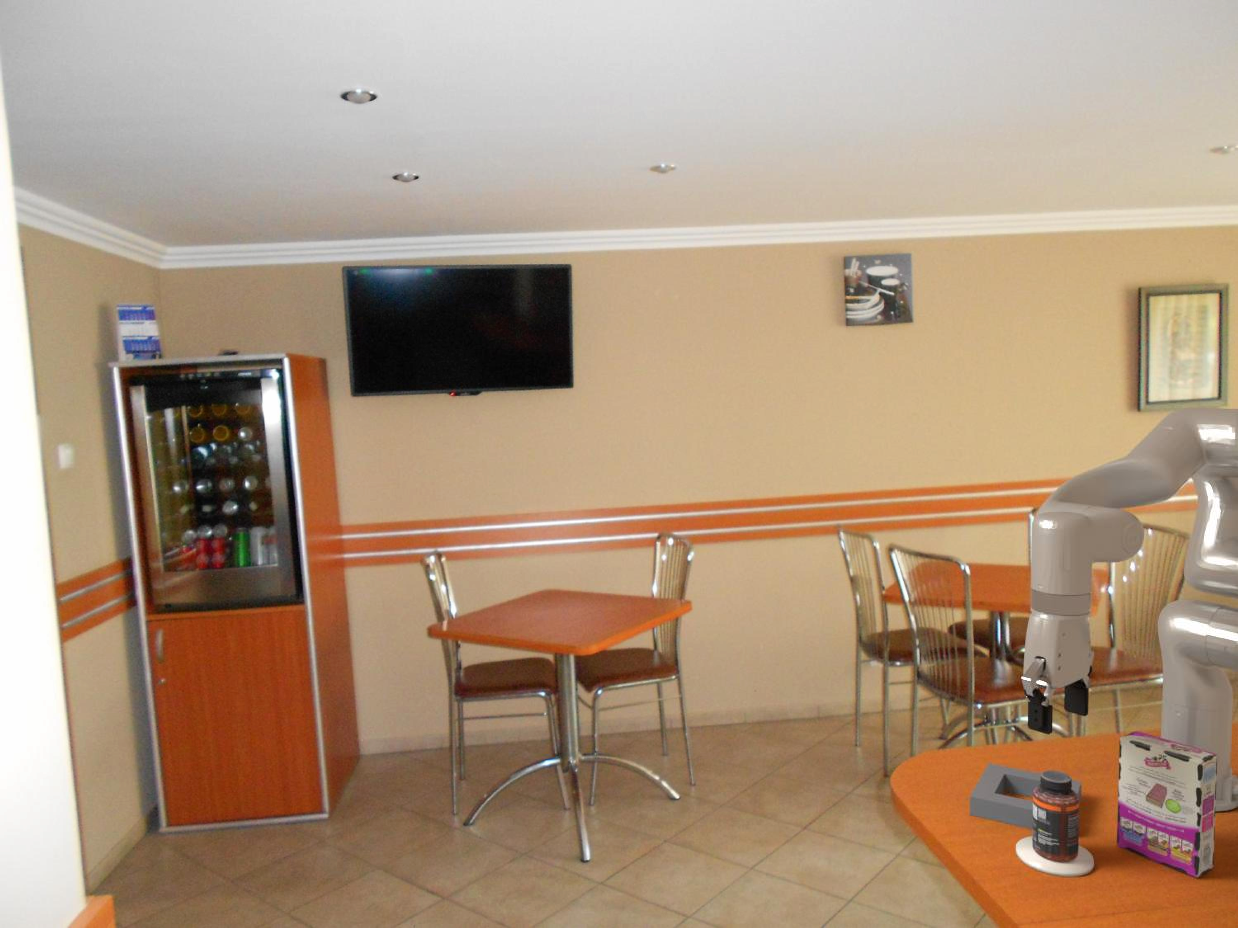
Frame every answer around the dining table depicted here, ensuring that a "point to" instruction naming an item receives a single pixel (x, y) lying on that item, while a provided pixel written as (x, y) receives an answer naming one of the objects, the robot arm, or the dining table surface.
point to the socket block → (1005, 808)
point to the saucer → (1058, 868)
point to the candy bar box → (1167, 802)
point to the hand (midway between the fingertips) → (1058, 721)
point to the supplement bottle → (1055, 817)
